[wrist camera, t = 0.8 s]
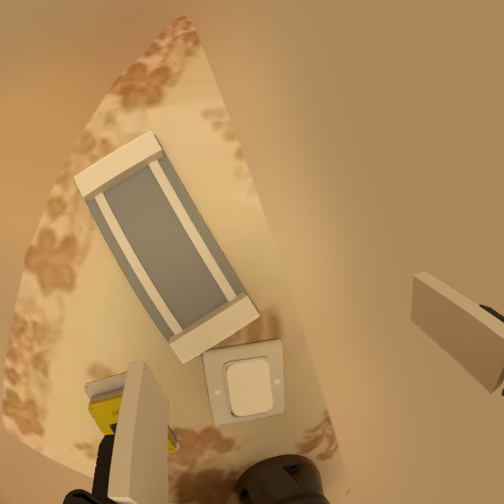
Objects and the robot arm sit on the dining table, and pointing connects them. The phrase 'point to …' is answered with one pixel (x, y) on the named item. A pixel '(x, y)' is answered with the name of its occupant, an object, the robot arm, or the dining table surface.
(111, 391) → the emergency button
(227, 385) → the light switch
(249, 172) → the dining table surface
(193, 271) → the rail board
